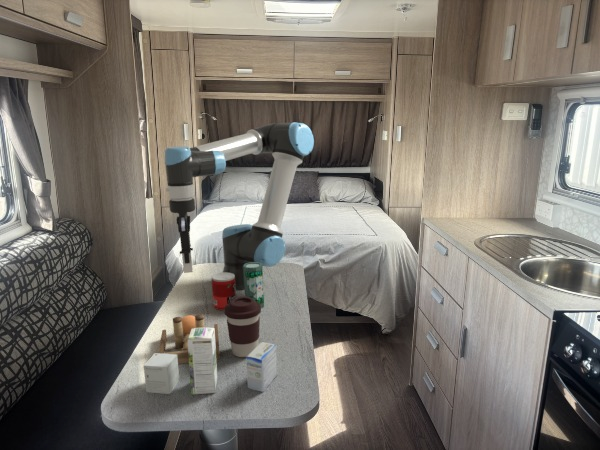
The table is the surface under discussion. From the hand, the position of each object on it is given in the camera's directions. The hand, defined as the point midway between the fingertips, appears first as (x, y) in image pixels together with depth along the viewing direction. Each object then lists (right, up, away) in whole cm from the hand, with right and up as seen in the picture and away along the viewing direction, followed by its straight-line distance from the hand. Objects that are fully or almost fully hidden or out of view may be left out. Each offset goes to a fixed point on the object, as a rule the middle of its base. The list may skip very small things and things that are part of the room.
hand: (188, 271), depth 143 cm
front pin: (+3, -18, -11) cm, 22 cm away
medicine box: (+26, -24, -32) cm, 48 cm away
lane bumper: (+4, -20, -14) cm, 25 cm away
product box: (+2, -25, -33) cm, 41 cm away
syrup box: (+12, -25, -34) cm, 44 cm away
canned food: (+9, -13, +13) cm, 21 cm away
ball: (+2, -15, -7) cm, 17 cm away
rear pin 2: (+7, -20, -13) cm, 24 cm away
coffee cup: (+20, -21, -17) cm, 34 cm away
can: (+20, -13, +13) cm, 27 cm away
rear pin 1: (+1, -20, -14) cm, 25 cm away
